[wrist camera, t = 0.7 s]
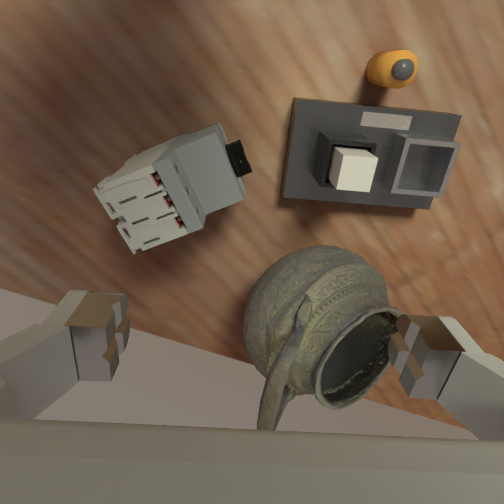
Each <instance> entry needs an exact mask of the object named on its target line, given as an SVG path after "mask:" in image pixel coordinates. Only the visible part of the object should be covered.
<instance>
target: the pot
mask: <svg viewBox="0 0 504 504" xmlns="http://www.w3.org/2000/svg"><path fill="white" fill-rule="evenodd" d="M401 314H403V312H402V311H401V310H399V309H398V308H396V307H392V306H389V301H388V298H387V289H386V284H385V281H384V279H383V276H382V275H381V274H380V273H379V272H378V271H377V270H376V269H375V268H374V267H372V266H370V265H369V264H368V263H367V262H366V261H365V260H363V259H362V258H361V257H360V256H358V255H356V254H354V253H352V252H351V251H348V250H345V249H342V248H339V247H336V246H327V245H325V246H314V247H309V248H304V249H301V250H298V251H295V252H293V253H291V254H288V255H286V256H284V257H282V258H281V259H280V260H278V261H277V262H276V263H274V264H273V265H272V266H271V267H270V268H268V269H267V270H266V271H265V272H264V274H263V275H262V276H261V278H260V279H259V280H258V281H257V283H256V284H255V286H254V288H253V290H252V291H251V293H250V295H249V298H248V301H247V304H246V306H245V309H244V319H243V336H244V343H245V346H246V349H247V352H248V354H249V356H250V358H251V360H252V362H253V364H254V365H255V367H256V369H257V370H258V371H259V372H260V373H261V374H262V375H263V376H264V377H265V378H266V382H265V386H264V389H263V394H262V397H261V401H260V407H259V414H258V420H257V430H274V431H275V429H276V427H277V425H278V422H279V420H280V418H281V415H282V413H283V411H284V409H285V407H286V405H287V403H288V402H289V401H291V400H292V399H293V398H294V397H295V395H303V394H315V397H316V399H317V400H318V401H319V403H321V404H322V405H323V406H324V407H326V408H329V409H331V410H333V409H342V408H345V407H348V406H350V405H352V404H353V403H355V402H356V401H358V400H359V399H361V398H362V397H363V396H365V395H366V394H367V393H368V392H369V391H370V390H371V389H372V388H373V387H374V385H375V384H376V383H377V382H378V380H379V379H380V378H381V376H382V375H383V374H384V373H385V371H386V370H387V369H388V367H389V366H390V364H391V362H390V359H389V355H388V345H389V342H390V339H391V336H392V335H394V334H395V333H396V332H397V331H398V329H397V327H396V325H395V324H396V322H397V319H398V318H399V316H400V315H401ZM384 360H385V361H384ZM381 363H382V364H381Z"/></svg>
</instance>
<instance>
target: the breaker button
mask: <svg viewBox="0 0 504 504" xmlns="http://www.w3.org/2000/svg"><path fill="white" fill-rule="evenodd" d="M377 161H378V158H377V157H376V156H374V155H373V154H371V153H370V152H368V151H367V150H365V149H364V148H356V147H345V146H334V145H332V150H331V155H330V160H329V165H328V170H327V176H326V177H327V178H328V179H329V181H330V182H331V183H332V184H333V186H334V187H335V188H336V189H337V190H349V191H361V192H370V188H371V184H372V181H373V177H374V173H375V169H376V165H377Z"/></svg>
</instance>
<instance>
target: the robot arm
mask: <svg viewBox="0 0 504 504" xmlns="http://www.w3.org/2000/svg"><path fill="white" fill-rule="evenodd" d="M127 308H128V297H127V295H126V294H120V293H109V292H98V291H87V290H70V291H68V293H67V294H66V295H65V296H64V298H63V299H62V300H61V301H60V303H59V304H58V305H57V306H56V307H55V309H54V310H53V311H52V313H51V314H50V315H49V316H48V318H47V319H46V320H45V321H44V323H43V324H42V325H38V324H36V325H33V326H31V327H29V328H27V329H25V330H23V331H21V332H19V333H16V334H14V335H12V336H10V337H8V338H6V339H4V340H2V341H0V504H504V361H502V360H500V359H498V358H497V357H495V356H493V355H491V354H487V353H484V352H483V351H482V350H481V348H480V347H479V346H478V345H477V344H476V343H475V341H474V340H473V339H472V338H471V337H470V336H469V335H468V333H467V332H466V331H465V330H464V329H463V328H462V326H461V325H460V324H459V323H458V322H457V321H456V320H455V319H454V318H452V317H450V316H422V315H406V314H401V315H400V316H399V318H398V319H397V322H396V327H397V329H398V331H397V332H396V333H395V334H394V335H392V336H391V339H390V342H389V345H388V355H389V359H390V362H391V364H392V366H393V368H395V369H396V370H397V371H398V372H400V373H401V375H400V378H399V380H400V382H401V384H402V386H403V388H404V390H405V391H406V393H407V395H408V397H409V398H419V399H431V400H438V401H437V402H439V403H440V404H441V405H442V406H443V407H444V408H445V409H446V410H447V411H448V412H450V413H451V414H452V415H453V416H454V417H455V418H456V419H457V420H458V421H459V422H461V423H462V424H463V425H464V426H465V427H466V428H467V429H468V430H469V431H470V432H472V433H473V434H474V435H475V436H476V437H477V438H478V439H479V440H465V439H442V438H421V437H401V436H400V437H399V436H380V435H359V434H340V433H318V432H294V431H274V430H252V429H231V428H209V427H187V426H165V425H144V424H123V423H101V422H79V421H58V420H57V421H56V420H37V419H34V418H35V417H36V416H37V415H39V414H40V413H41V412H42V411H43V410H45V409H46V408H47V407H48V406H50V405H51V404H52V403H53V402H55V401H56V400H57V399H58V398H59V397H61V396H62V395H63V394H64V393H66V392H67V391H68V390H69V389H71V388H72V387H73V386H74V385H75V384H77V383H78V380H82V381H111V380H112V378H113V376H114V373H115V371H116V369H117V367H118V364H119V354H120V353H122V352H124V350H125V348H126V345H127V342H128V337H129V330H130V321H129V318H128V317H127V316H126V315H125V313H126V311H127Z"/></svg>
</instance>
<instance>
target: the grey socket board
mask: <svg viewBox="0 0 504 504" xmlns="http://www.w3.org/2000/svg"><path fill="white" fill-rule="evenodd" d="M461 117H462V116H461V115H456V114H451V113H445V112H435V111H425V110H415V109H405V108H395V107H385V106H375V105H366V104H356V103H346V102H336V101H326V100H316V99H306V98H296V97H294V101H293V108H292V115H291V123H290V130H289V137H288V144H287V152H286V159H285V166H284V174H283V181H282V188H281V192H282V195H283V198H294V199H307V200H319V201H331V202H343V203H355V204H368V205H380V206H392V207H404V208H416V209H429V208H430V205H431V202H432V200H433V197H442V196H443V194H444V191H445V188H446V185H447V182H448V180H449V177H450V174H451V171H452V169H453V166H454V163H455V160H456V158H457V155H458V152H459V149H460V147H461V144H462V143H460V142H457V141H454V140H453V139H454V137H455V134H456V131H457V128H458V125H459V122H460V119H461ZM332 145H334V146H345V147H356V148H364V149H365V150H367V151H368V152H370V153H371V154H373V155H374V156H376V157H377V158H378V161H377V165H376V169H375V173H374V177H373V181H372V184H371V188H370V192H361V191H349V190H337V189H336V188H335V187H334V186H333V184H332V183H331V182H330V181H329V179H328V178H327V177H326V176H327V170H328V165H329V160H330V155H331V150H332Z"/></svg>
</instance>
